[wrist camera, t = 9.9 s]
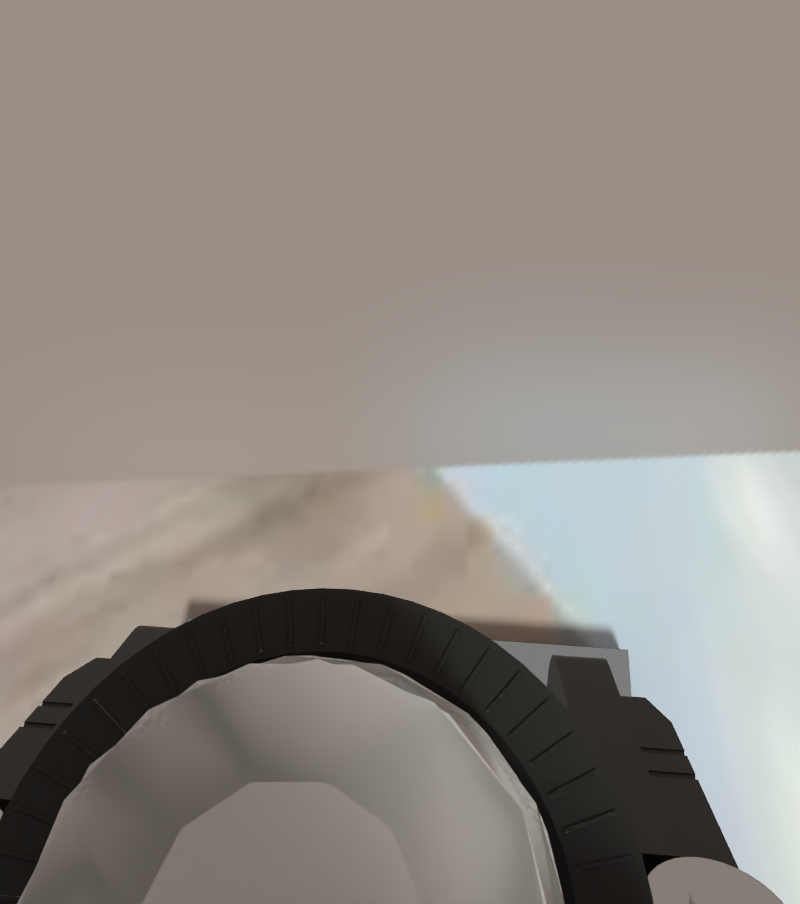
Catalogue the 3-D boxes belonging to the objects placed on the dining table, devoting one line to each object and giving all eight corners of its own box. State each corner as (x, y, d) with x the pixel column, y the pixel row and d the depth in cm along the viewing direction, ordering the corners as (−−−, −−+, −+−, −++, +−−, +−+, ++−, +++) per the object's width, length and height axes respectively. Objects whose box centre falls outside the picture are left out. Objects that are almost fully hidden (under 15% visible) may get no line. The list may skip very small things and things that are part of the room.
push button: (181, 742, 15) (-186, 572, 6) (421, 629, 16) (397, 341, 7) (298, 1144, 12) (-95, 1923, 3) (587, 977, 13) (907, 1231, 4)
